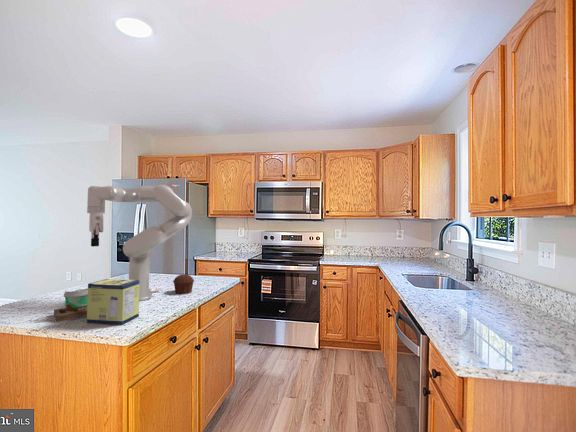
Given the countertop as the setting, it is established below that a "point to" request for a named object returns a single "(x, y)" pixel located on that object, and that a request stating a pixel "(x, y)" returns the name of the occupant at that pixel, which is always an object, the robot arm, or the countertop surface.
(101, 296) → the protein box
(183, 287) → the muffin
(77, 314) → the base plate
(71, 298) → the food container
